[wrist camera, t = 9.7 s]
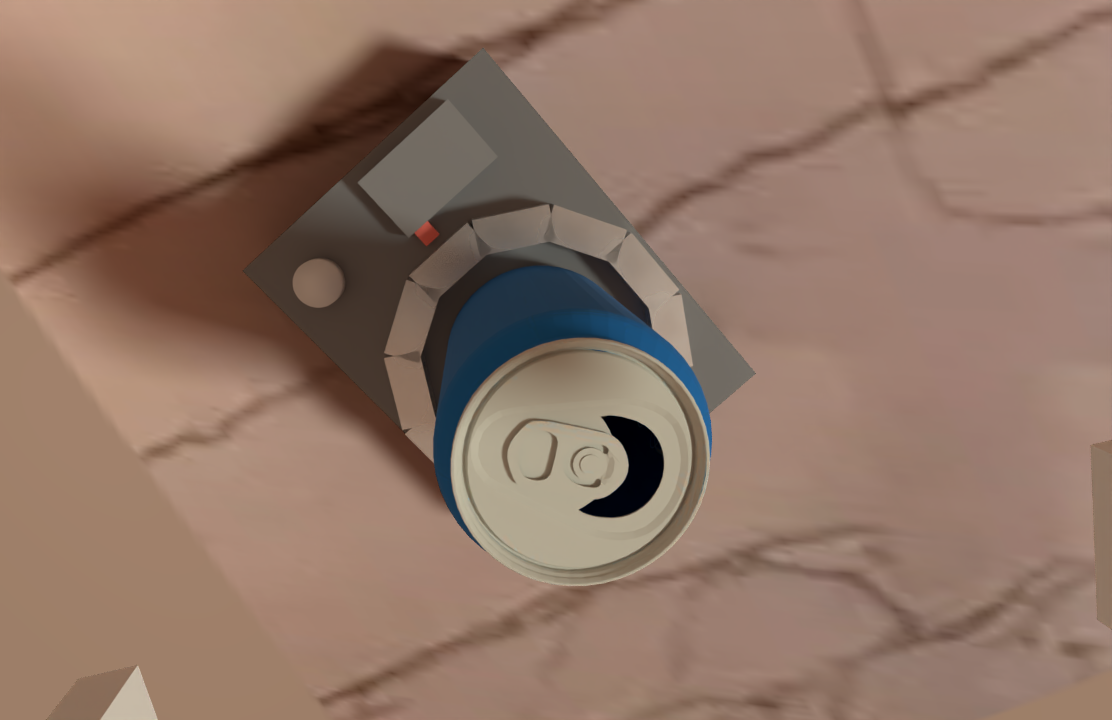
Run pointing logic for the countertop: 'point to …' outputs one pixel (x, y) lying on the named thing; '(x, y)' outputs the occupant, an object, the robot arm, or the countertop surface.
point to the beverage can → (567, 430)
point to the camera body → (449, 233)
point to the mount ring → (504, 235)
